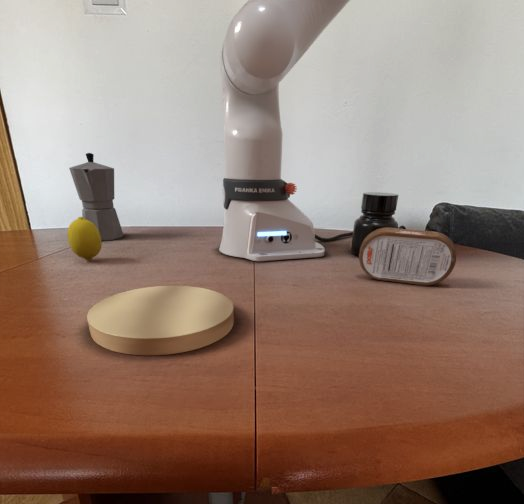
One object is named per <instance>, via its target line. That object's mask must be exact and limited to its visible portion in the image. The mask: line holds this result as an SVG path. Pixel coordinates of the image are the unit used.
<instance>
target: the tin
mask: <svg viewBox="0 0 524 504" xmlns="http://www.w3.org/2000/svg"><path fill="white" fill-rule="evenodd" d="M398 228H399V227H398ZM398 228H381V229H377V230H375V231H373V232H372V233H370V234H369V235H368V236H367V237H366V238H365V239H364V241H363V243H362V245H361V248H360V253H359V256H358V261H359V265H360V267H361V270H362V271H363V272H364V273H365V274H366V275H367V276H368V277H369V278H372V279H373V280H377V281H383V282H390V283H391V282H393V283H400V284H401V283H402V284H409V285H417V286H434V285H436V284H439V283H441V282H442V281H444V280H446V279H447V278H448V277H449V276H450V275H451V274H452V273H453V270H454V268H455V266H456V263H457V250H456V246H455V244H454V242H453V241H452V240H451V238H450V237H449V236H447V235H445V234H444V233H441V232H438V231H430V230H420V229H419V230H417V229H407V228H406V229H398Z"/></svg>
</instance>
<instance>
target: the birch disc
mask: <svg viewBox="0 0 524 504" xmlns="http://www.w3.org/2000/svg"><path fill="white" fill-rule="evenodd" d="M234 309H235V308H234V303H233V302H232V300H231V299H230V298H229V297H228V296H226V295H224V294H223V293H220V292H218V291H215V290H212V289H208V288H204V287H198V286H189V285H158V286H157V285H156V286H147V287H140V288H135V289H130V290H126V291H122V292H119V293H116V294H113V295H111V296H108V297H106V298H103V299H102V300H100V301H98V302H97V303H95V304H94V305H93V306H91V308H90V309H89V310H88V312H87V314H86V319H87V325H88V329H89V334H90V337H91V338H92V339H91V340H93V342H94V343H96V344H97V345H99V346H100V347H102V348H103V349H106V350H108V351H112V352H115V353H120V354H126V355H132V356H133V355H134V356H167V355H174V354H175V355H176V354H181V353H186V352H191V351H195V350H198V349H201V348H204V347H207V346H210V345H212V344H214V343H216V342H218V341H220V340H221V339H223V338H224V337H226V336H227V335H228V334H229V333H230V332H231V330H232V329H233V327H234V323H235V315H234V314H235V313H234V311H235V310H234Z"/></svg>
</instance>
